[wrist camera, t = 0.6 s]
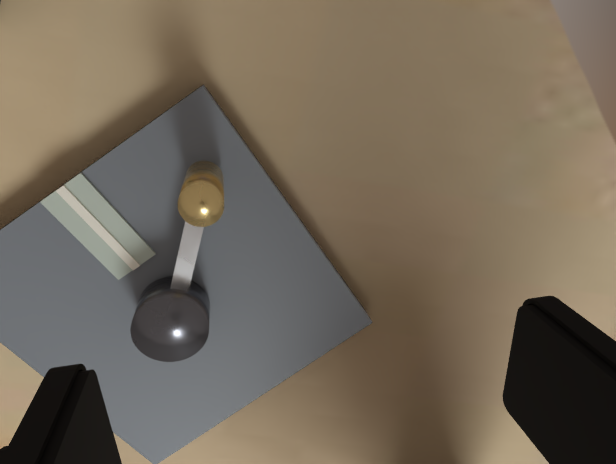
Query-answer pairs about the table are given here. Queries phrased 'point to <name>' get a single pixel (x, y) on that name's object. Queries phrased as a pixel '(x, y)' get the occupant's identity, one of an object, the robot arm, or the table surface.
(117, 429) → the dial plate
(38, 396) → the robot arm
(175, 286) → the lever
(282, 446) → the table surface
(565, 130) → the table surface
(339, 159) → the table surface
